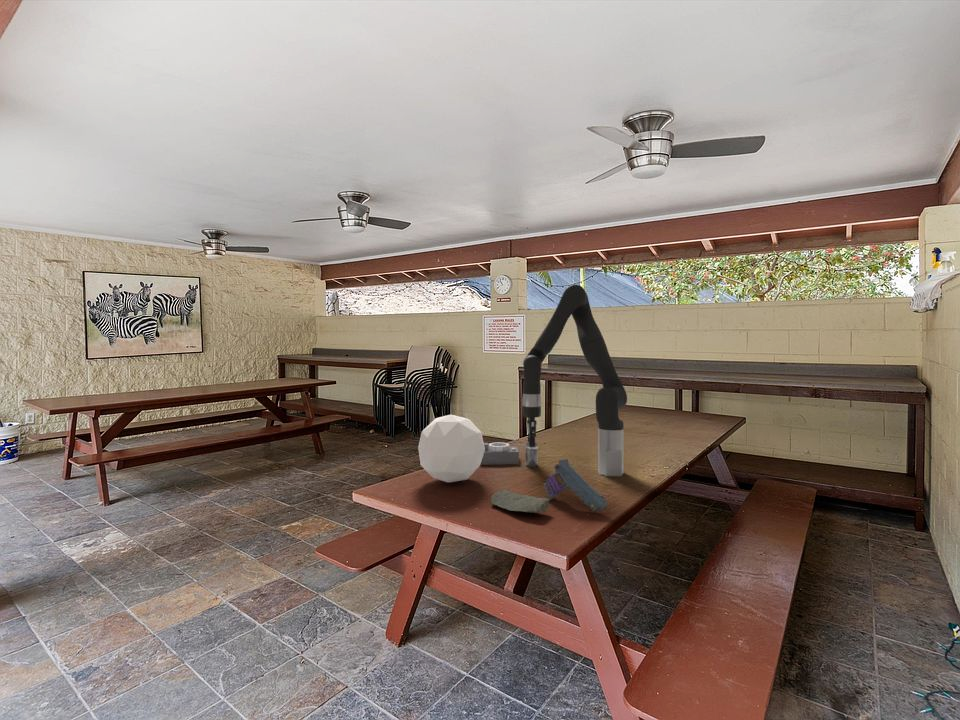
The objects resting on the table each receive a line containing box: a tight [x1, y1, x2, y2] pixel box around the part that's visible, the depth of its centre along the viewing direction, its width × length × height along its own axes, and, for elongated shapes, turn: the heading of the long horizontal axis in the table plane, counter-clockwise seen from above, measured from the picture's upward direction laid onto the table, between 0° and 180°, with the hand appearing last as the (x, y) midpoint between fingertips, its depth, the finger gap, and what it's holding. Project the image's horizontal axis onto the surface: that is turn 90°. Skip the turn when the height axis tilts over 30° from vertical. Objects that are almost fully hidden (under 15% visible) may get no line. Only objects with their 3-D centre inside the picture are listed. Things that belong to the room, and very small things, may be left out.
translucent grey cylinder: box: [524, 441, 539, 468], centre depth 201 cm, size 5×5×10 cm
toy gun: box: [542, 458, 608, 512], centre depth 156 cm, size 4×21×15 cm
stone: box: [490, 489, 550, 514], centre depth 154 cm, size 21×4×10 cm
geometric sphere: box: [417, 414, 485, 483], centre depth 181 cm, size 24×25×25 cm
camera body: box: [480, 441, 520, 466], centre depth 209 cm, size 10×16×8 cm, turn 89°
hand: (531, 444), depth 202 cm, fingers open, 8 cm apart
